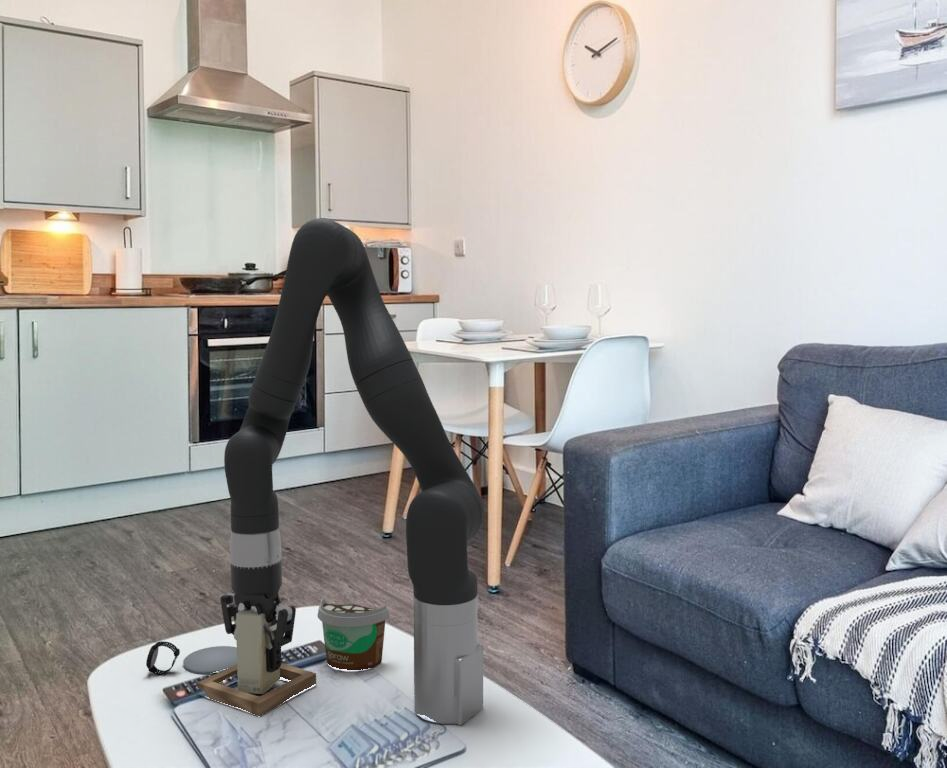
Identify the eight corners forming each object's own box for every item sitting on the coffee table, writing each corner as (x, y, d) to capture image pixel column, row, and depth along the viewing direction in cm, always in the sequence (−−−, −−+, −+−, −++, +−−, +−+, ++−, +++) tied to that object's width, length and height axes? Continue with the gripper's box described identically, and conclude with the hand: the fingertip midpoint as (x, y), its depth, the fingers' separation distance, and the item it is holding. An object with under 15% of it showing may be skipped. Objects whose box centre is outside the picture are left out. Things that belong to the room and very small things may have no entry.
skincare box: (263, 695, 128) (262, 616, 127) (235, 692, 129) (234, 614, 128) (281, 677, 134) (280, 602, 133) (254, 675, 135) (253, 600, 134)
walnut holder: (316, 685, 133) (316, 673, 133) (259, 716, 123) (258, 703, 123) (256, 667, 140) (256, 655, 140) (197, 695, 130) (197, 682, 130)
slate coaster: (259, 657, 144) (259, 654, 144) (212, 679, 135) (212, 675, 135) (217, 645, 149) (217, 641, 149) (170, 665, 141) (170, 661, 141)
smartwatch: (157, 666, 140) (156, 637, 140) (183, 671, 139) (183, 641, 138) (140, 677, 136) (139, 646, 136) (167, 681, 135) (166, 650, 134)
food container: (304, 669, 139) (303, 609, 138) (322, 655, 145) (321, 597, 144) (374, 679, 135) (374, 617, 134) (390, 664, 141) (389, 604, 140)
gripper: (308, 558, 129) (311, 667, 131) (241, 545, 137) (244, 648, 138) (272, 572, 123) (275, 686, 124) (203, 557, 130) (207, 665, 132)
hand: (259, 665), depth 131 cm, fingers closed on skincare box, 5 cm apart
